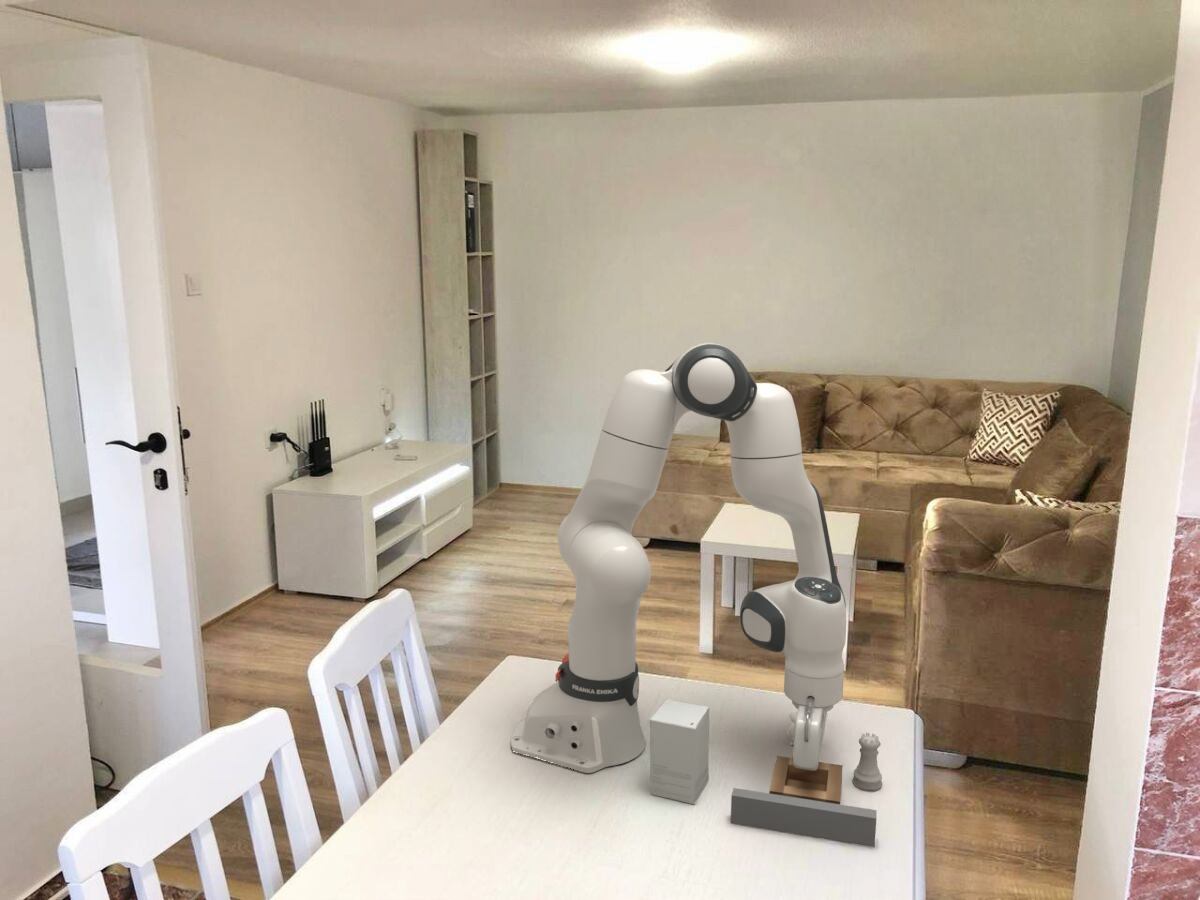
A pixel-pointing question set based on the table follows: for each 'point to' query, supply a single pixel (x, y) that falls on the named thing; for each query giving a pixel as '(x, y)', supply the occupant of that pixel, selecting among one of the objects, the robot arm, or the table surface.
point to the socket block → (807, 781)
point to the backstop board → (804, 817)
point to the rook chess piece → (868, 764)
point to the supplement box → (679, 751)
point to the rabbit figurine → (792, 726)
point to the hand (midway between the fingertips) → (809, 765)
